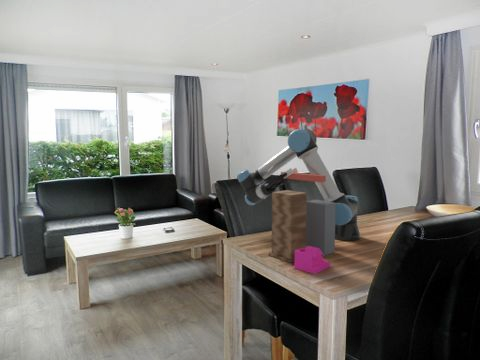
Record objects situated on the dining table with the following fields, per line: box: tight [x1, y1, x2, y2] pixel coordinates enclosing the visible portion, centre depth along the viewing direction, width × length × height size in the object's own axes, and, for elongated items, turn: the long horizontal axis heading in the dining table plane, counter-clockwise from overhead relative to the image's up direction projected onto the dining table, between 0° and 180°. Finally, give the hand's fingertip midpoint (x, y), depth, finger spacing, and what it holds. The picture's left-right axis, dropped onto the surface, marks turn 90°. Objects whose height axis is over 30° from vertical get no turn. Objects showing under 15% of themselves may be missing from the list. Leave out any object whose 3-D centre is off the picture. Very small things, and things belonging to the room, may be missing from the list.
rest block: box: [306, 199, 336, 256], centre depth 188 cm, size 12×8×24 cm, turn 41°
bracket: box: [294, 246, 331, 275], centre depth 167 cm, size 12×10×10 cm
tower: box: [268, 189, 308, 264], centre depth 180 cm, size 14×12×30 cm
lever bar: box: [280, 171, 326, 183], centre depth 193 cm, size 26×3×3 cm, turn 41°
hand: (294, 170), depth 197 cm, fingers closed on lever bar, 3 cm apart
